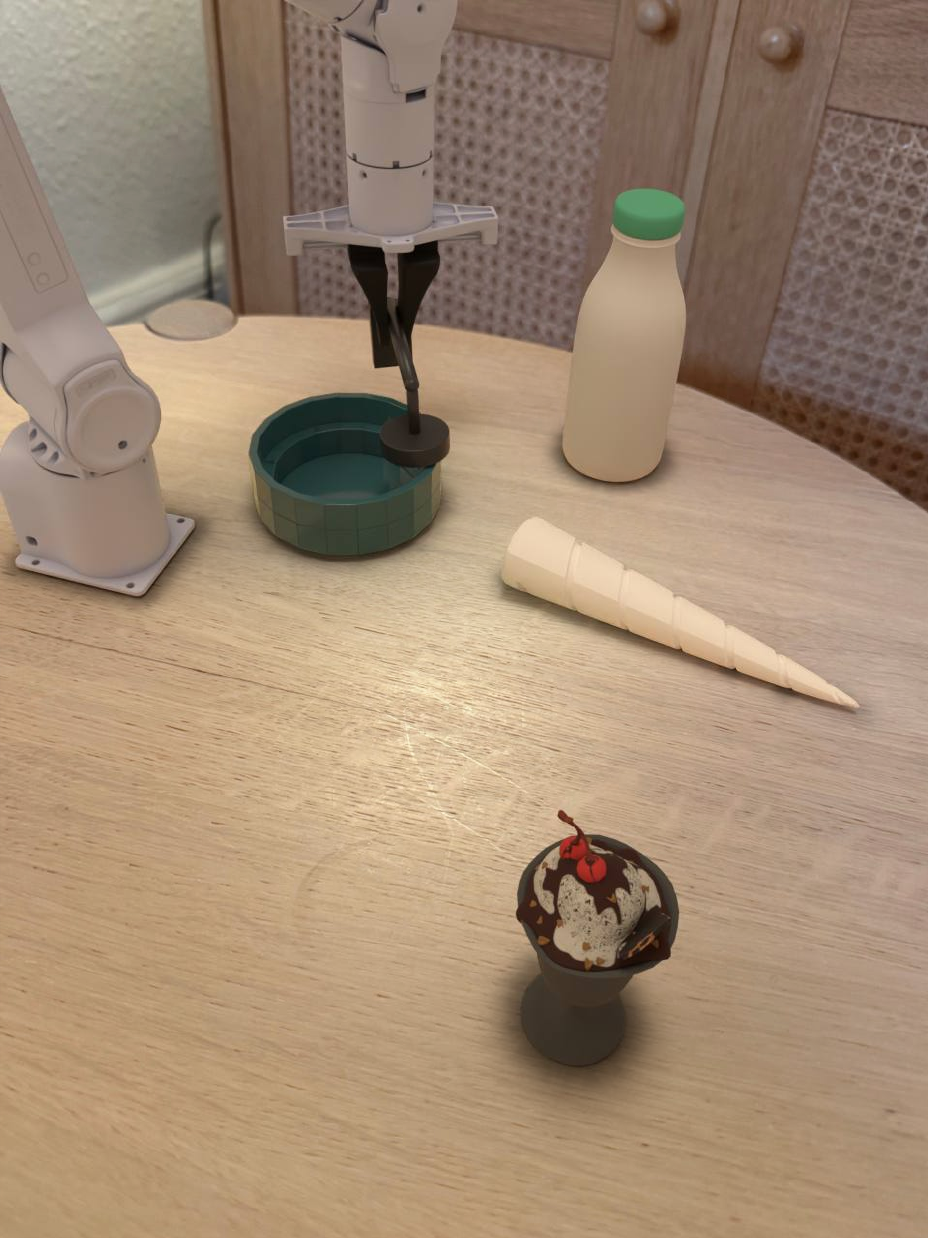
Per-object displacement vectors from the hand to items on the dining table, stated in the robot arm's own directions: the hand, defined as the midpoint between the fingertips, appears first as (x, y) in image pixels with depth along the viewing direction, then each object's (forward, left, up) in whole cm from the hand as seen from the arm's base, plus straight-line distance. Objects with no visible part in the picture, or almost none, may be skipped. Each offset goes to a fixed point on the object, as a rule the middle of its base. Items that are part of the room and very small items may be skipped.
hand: (393, 337), depth 80 cm
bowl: (0, -10, -8) cm, 13 cm away
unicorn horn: (+24, -16, -8) cm, 30 cm away
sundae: (+24, -43, -8) cm, 50 cm away
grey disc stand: (+2, -4, -3) cm, 6 cm away
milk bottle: (+17, +2, -8) cm, 19 cm away
